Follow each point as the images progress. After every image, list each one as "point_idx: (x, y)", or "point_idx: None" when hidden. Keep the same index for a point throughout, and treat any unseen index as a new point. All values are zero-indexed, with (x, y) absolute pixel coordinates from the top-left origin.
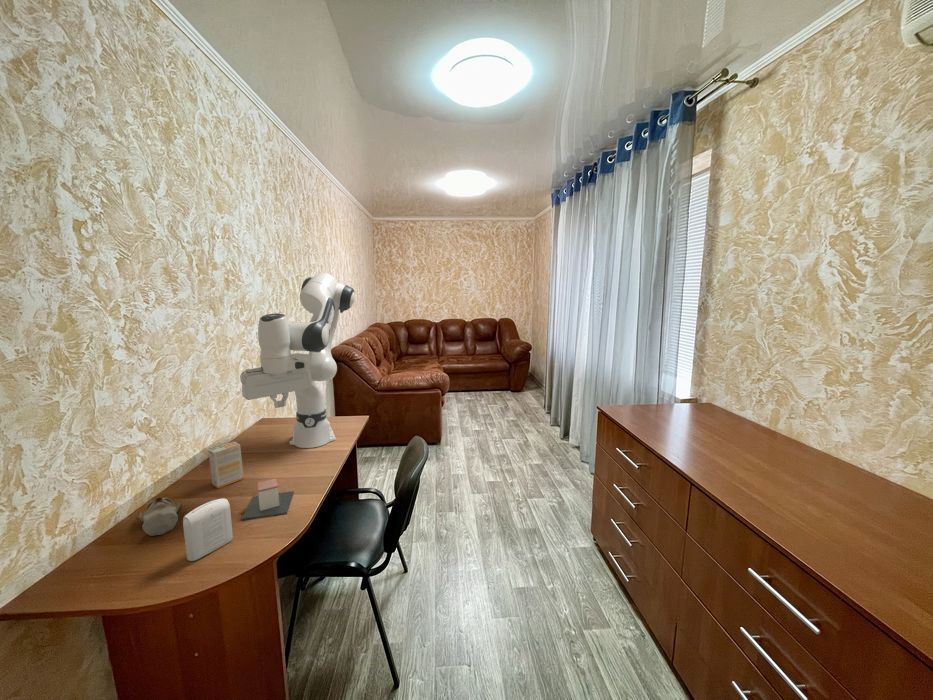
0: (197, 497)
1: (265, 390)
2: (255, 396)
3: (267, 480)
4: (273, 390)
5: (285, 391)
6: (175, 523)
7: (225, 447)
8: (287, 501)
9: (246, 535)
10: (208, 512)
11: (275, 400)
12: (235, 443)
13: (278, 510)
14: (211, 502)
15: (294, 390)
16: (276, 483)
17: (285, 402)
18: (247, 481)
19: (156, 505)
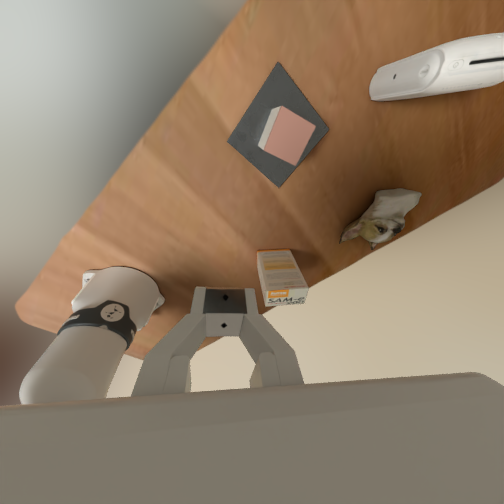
0: (313, 246)
1: (430, 484)
2: (469, 399)
3: (279, 156)
4: (327, 466)
5: (165, 418)
6: (379, 191)
7: (287, 294)
8: (254, 110)
9: (357, 61)
10: (500, 34)
11: (264, 332)
12: (269, 298)
13: (283, 89)
14: (481, 63)
15: (26, 416)
16: (277, 122)
17: (192, 304)
18: (257, 240)
19: (403, 220)
